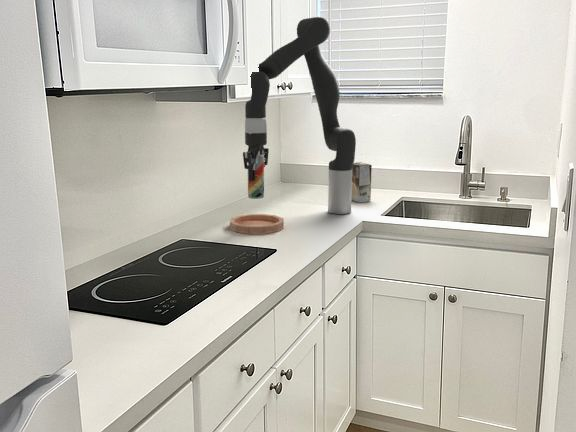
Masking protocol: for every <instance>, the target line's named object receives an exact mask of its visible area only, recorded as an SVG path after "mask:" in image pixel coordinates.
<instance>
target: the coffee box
mask: <svg viewBox="0 0 576 432" xmlns="http://www.w3.org/2000/svg"><path fill="white" fill-rule="evenodd" d="M372 167H373V166H372V164H369V163H365V162H354V163H353V165H352V196H351V201H354V202H356V203H367V201H369V202H371V197H372V170H373V169H372Z"/></svg>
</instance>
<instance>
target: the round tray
mask: <svg viewBox="0 0 576 432" xmlns="http://www.w3.org/2000/svg"><path fill="white" fill-rule="evenodd" d="M284 224H285V222H284V218H283V217H281V216H278V215H275V214H268V213H267V214H266V213H251V214H250V213H249V214H241V215H237V216H234V217H232V218H230V220H229V228H230V230H232V231H233V232H235V233H238V234H246V235H266V234H273V233H277V232H280V231H282V230H283V229H284V226H285V225H284Z"/></svg>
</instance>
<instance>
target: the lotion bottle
mask: <svg viewBox="0 0 576 432" xmlns="http://www.w3.org/2000/svg"><path fill="white" fill-rule="evenodd" d="M257 151H260V155H259V156H258V162H257V164H256V166H255V181H249V171H248V170H247V196H248V198H249V199H254V200H257V199H259V200H260V199H264V198H265V167H264V162H265V161H264V155H265V154H264V155H261V146H257ZM251 160H252V161H255V159H252V158H251ZM252 166H253V163H252Z"/></svg>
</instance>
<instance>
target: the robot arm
mask: <svg viewBox="0 0 576 432" xmlns="http://www.w3.org/2000/svg"><path fill="white" fill-rule="evenodd" d="M296 26H297V27H296V36H297V37H296V38H295V39H293V40H291V41H290V42H288V43H287V44H284V45H282V46H281V47H280V48H277V49H276V50H275V51H274V52H272V53H271V54H270V55H269V56H267V57H266V58H265V60H263V61H262V62H260V63H258V64H259V67H258V68H259V72H252V74H251V76H250V77H251V88H252V93H251V95H250V100H248V101H246V102H245V109H244V111H245V114H244V115H245V120H244V143H245V145H246V146H248V148H247V151H243V152H242V159H243V166H244V169H245V170H247V172H248V171H249V181H255V166H256V164H257V162H258V156H259V155H260V151H257V146H261V155H264V168H265V167H266V166H268V162H269V153H270V152H269V150H270V149H269V148H267V147H264V146H266V145H267V144H268V140H267V139H268V137H267V135H268V133H267V131H268V129H267V128H268V125H267V118H266V117H267V115H266V114H267V111H266V109H267V107H266V106H267V102H268V98H269V94H270V93H269V92H270V89H271V88H270V86H271V85H270V84H271V82H270V80H273V79H276V78H277V77H279V76H280V75H281V74H283V72H285V71H286V70H287V69H288V68H289V67H290V66H291V65H293V64H294V63H295V62H296V61H298V59H300V58H302V56H304V59H305V62H306V65H307V69H308V73H309V76H310V80H311V84H312V89H313V91H314V96H315V98H316V103H317V107H318V110H319V111H318V112H319V115H320V119H321V125H322V132H323V138H324V143H325V146H326V147H327V148H328V150H330V151H333V152H336V153H335V158H334V159H333V160H330V161H329V163H328V179H327V180H328V182H327V183H328V185H327V188H328V190H327V191H328V192H327V193H328V194H327V197H328V198H327V201H328V202H327V209H328V210H327V212H328V213H330V214H334V215H346V214H350V213H352V200H351V196H352V165H353V163H355V160H356V159H355V158H356V157H355V156H356V155H355V154H356V143H357V141H356V140H357V138H356V135H355V132H354V131H353V130H352V129H350V128H345V127H341V125H340V123H339V118H338V113H337V112H338V106H339V101H340V86H339V84H338V83H339V82H338V79H337V77H336V73H335V72H334V70H333V69H332V68H331V66H330V65H329V64H328V61H326V59H325V58H324V56H323V54H322V51H321V49H320V45H322V44H323V43H325V42H326V41H327V40H328V38H329V37H330V34H331V26H330V23H329V21H328V20H327V19H326V18H324V17H320V16H315V17H314V16H313V17H308V18H303V19H301V20H300V21H299V22H298V23H297V25H296ZM251 158H252V159H255V161H252V160H251ZM252 163H253V166H252Z"/></svg>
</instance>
